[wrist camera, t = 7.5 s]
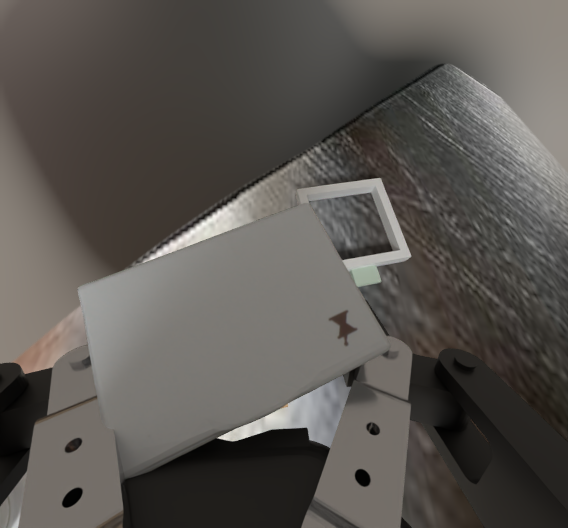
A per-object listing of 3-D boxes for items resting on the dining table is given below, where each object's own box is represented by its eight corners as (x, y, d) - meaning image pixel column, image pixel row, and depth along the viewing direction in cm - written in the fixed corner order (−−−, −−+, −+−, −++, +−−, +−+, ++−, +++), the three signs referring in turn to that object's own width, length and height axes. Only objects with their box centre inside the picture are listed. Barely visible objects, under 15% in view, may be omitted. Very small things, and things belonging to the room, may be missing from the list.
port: (375, 185, 35) (380, 177, 34) (410, 276, 31) (417, 272, 29) (295, 196, 34) (297, 189, 32) (321, 294, 29) (324, 290, 28)
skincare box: (285, 297, 18) (315, 194, 7) (312, 357, 17) (404, 351, 6) (199, 334, 17) (66, 282, 6) (222, 401, 16) (108, 506, 4)
